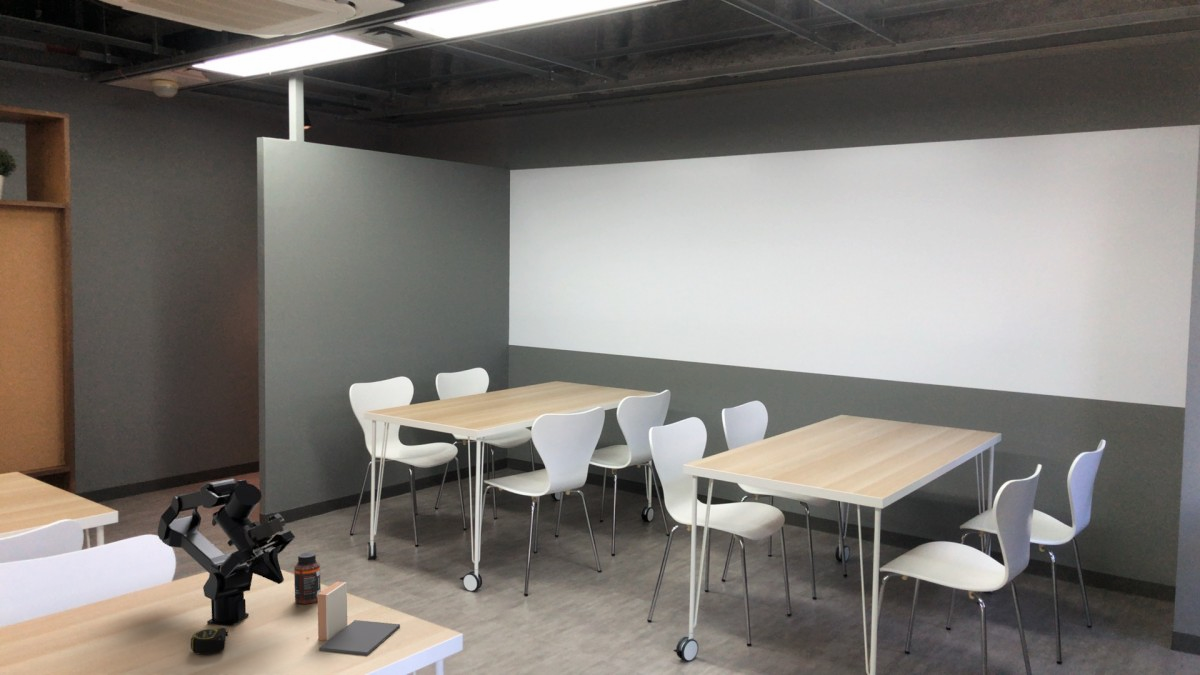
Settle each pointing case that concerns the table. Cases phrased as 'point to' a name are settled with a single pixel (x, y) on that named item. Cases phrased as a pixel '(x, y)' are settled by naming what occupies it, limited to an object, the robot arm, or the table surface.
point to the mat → (360, 637)
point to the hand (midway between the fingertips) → (281, 582)
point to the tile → (332, 610)
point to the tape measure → (209, 641)
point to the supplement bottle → (307, 578)
